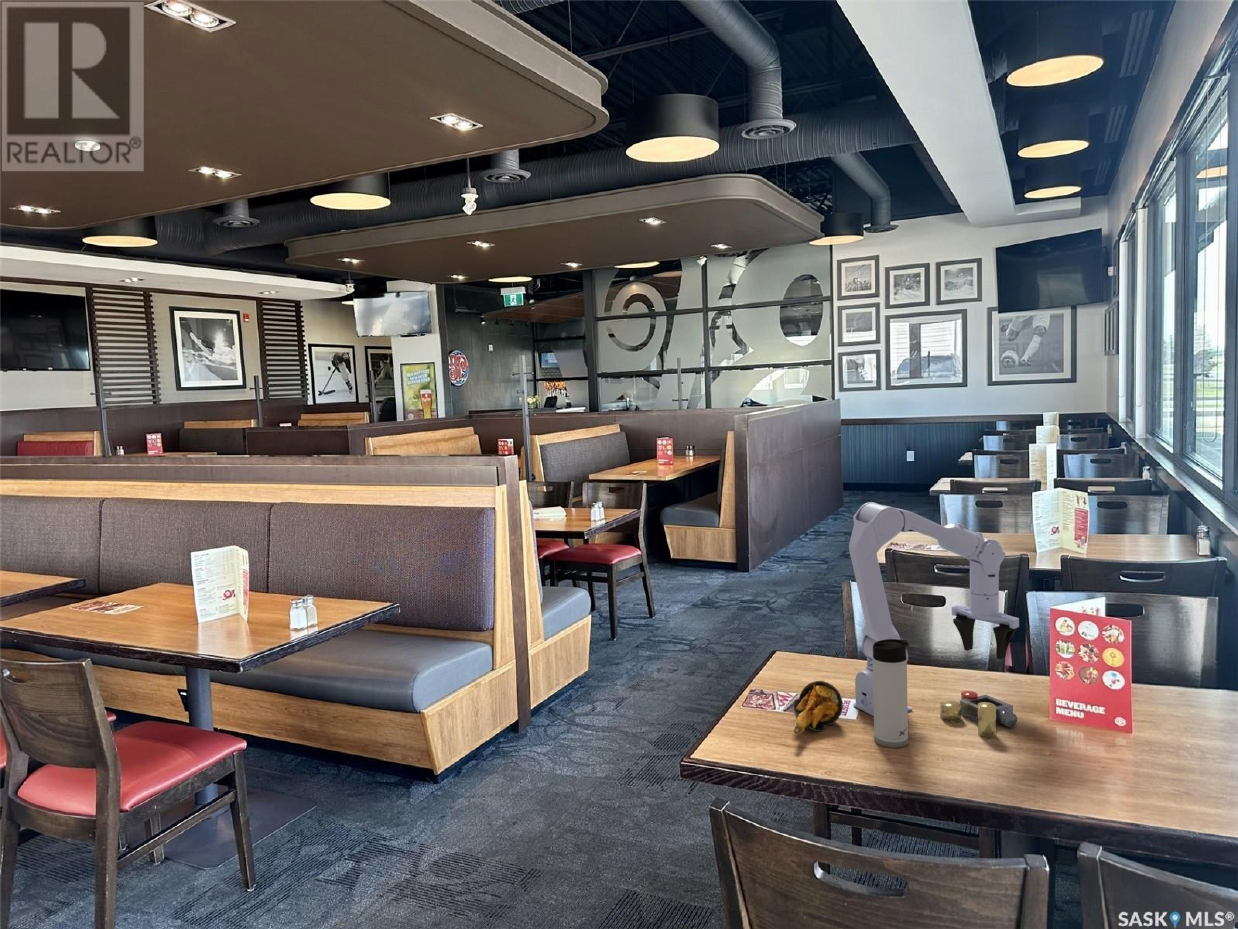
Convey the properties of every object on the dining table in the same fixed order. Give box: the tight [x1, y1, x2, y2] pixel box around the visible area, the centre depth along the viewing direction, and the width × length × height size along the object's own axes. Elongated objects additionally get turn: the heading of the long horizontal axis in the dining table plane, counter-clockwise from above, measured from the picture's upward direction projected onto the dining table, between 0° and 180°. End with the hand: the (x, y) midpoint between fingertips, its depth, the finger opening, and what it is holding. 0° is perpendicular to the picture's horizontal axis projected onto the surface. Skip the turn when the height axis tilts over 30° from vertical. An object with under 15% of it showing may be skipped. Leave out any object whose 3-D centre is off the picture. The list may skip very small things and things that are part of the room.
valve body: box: [959, 690, 1018, 729], centre depth 166 cm, size 7×13×4 cm, turn 21°
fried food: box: [792, 680, 844, 736], centre depth 164 cm, size 9×11×18 cm
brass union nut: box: [939, 700, 962, 723], centre depth 167 cm, size 4×4×3 cm
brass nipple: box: [977, 702, 997, 740], centre depth 158 cm, size 3×3×6 cm
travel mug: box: [873, 639, 909, 749], centre depth 156 cm, size 6×7×20 cm
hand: (984, 653), depth 176 cm, fingers open, 7 cm apart
